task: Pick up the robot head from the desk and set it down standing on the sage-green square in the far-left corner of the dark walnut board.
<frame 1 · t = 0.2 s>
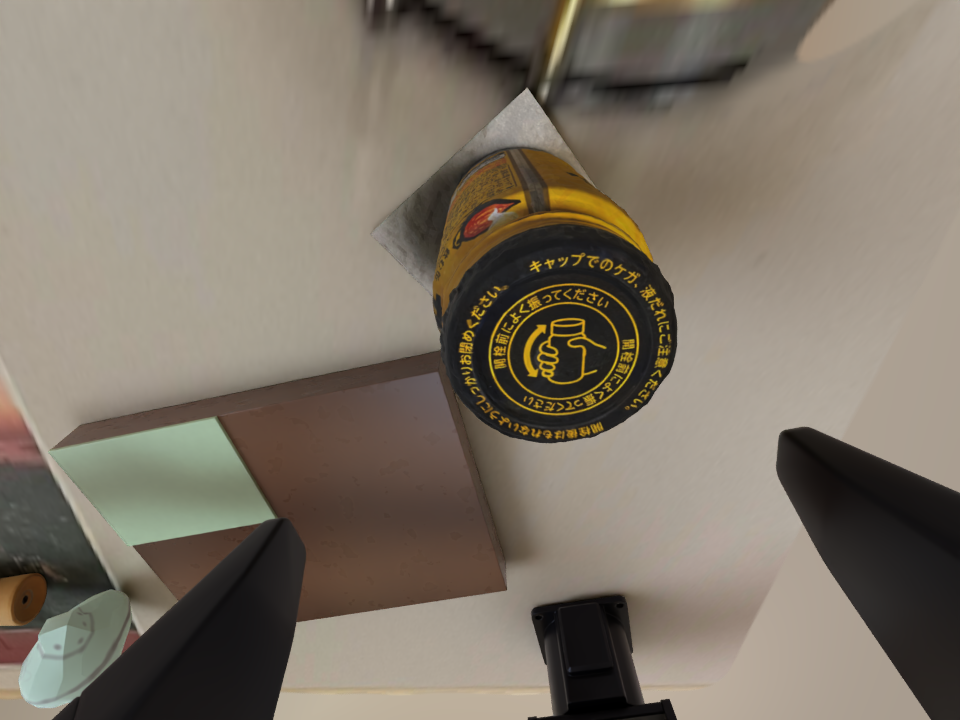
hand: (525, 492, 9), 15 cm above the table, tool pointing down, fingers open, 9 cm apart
walnut board: (313, 500, 29), on the table
condiment: (500, 231, 21), on the table
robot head: (120, 590, 33), on the table
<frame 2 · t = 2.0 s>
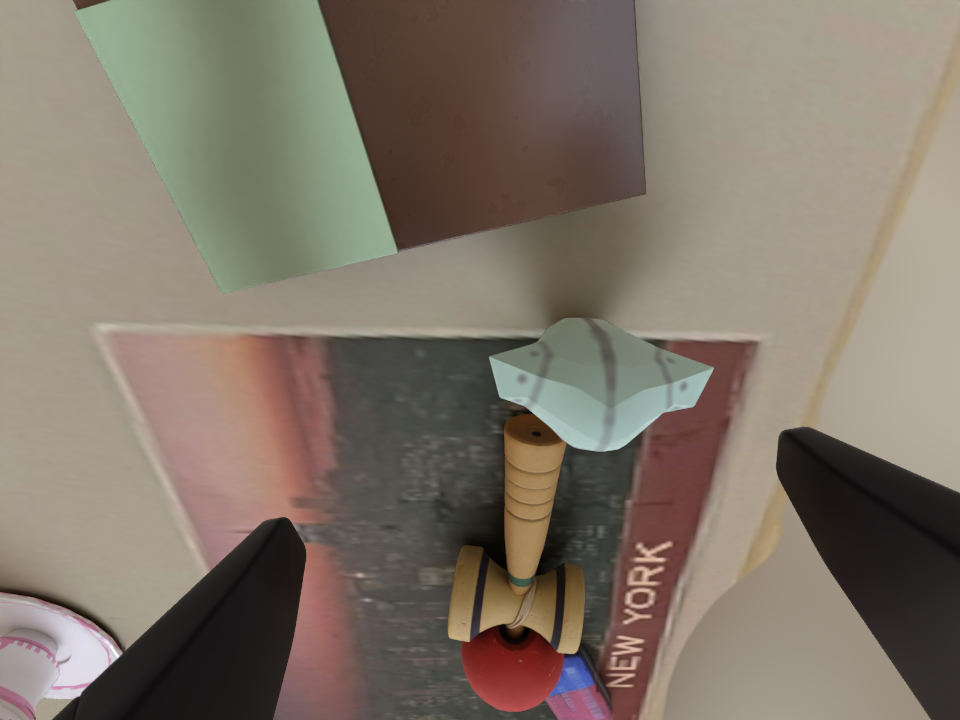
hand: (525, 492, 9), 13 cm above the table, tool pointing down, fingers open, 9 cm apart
eraser: (567, 669, 35), on the table
teacup: (37, 640, 33), on the table
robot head: (573, 334, 22), on the table
kendama: (515, 532, 28), on the table
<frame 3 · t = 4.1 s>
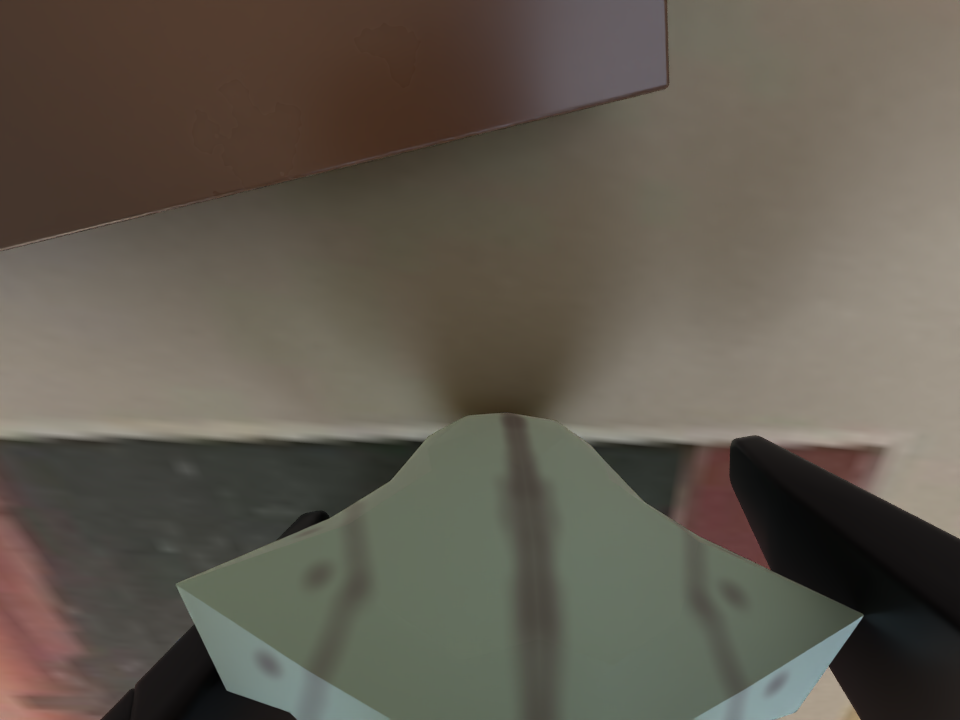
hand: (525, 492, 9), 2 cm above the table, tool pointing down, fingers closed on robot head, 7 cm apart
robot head: (501, 432, 11), on the table, touching gripper
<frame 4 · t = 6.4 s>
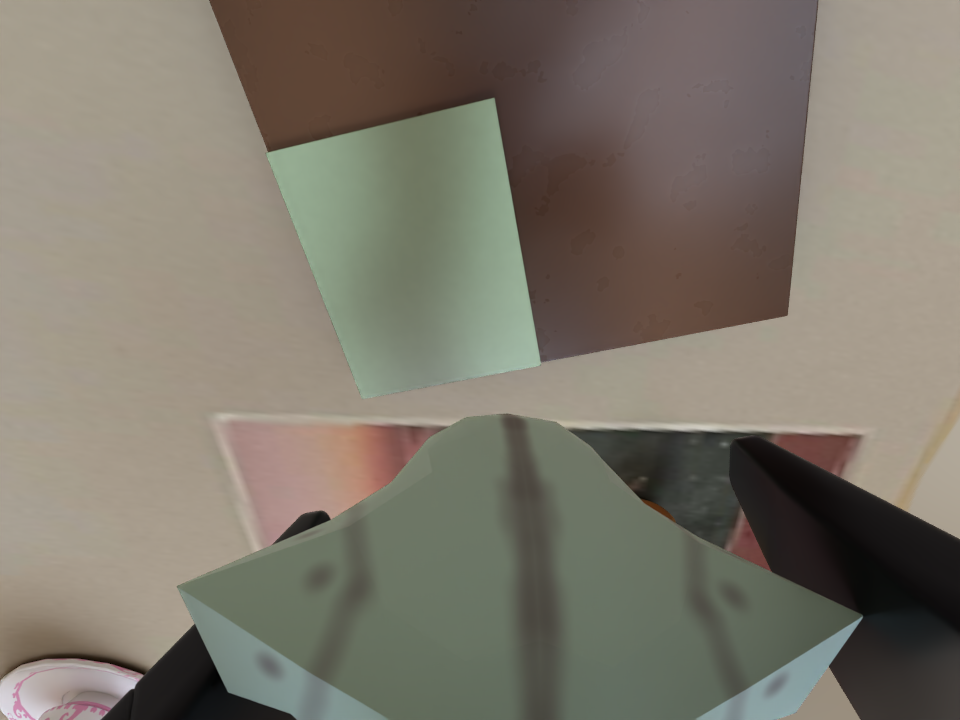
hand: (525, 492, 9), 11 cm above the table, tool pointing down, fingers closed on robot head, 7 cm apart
walnut board: (516, 54, 15), on the table
teacup: (103, 702, 33), on the table
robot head: (501, 433, 11), point 9 cm above the table, touching gripper
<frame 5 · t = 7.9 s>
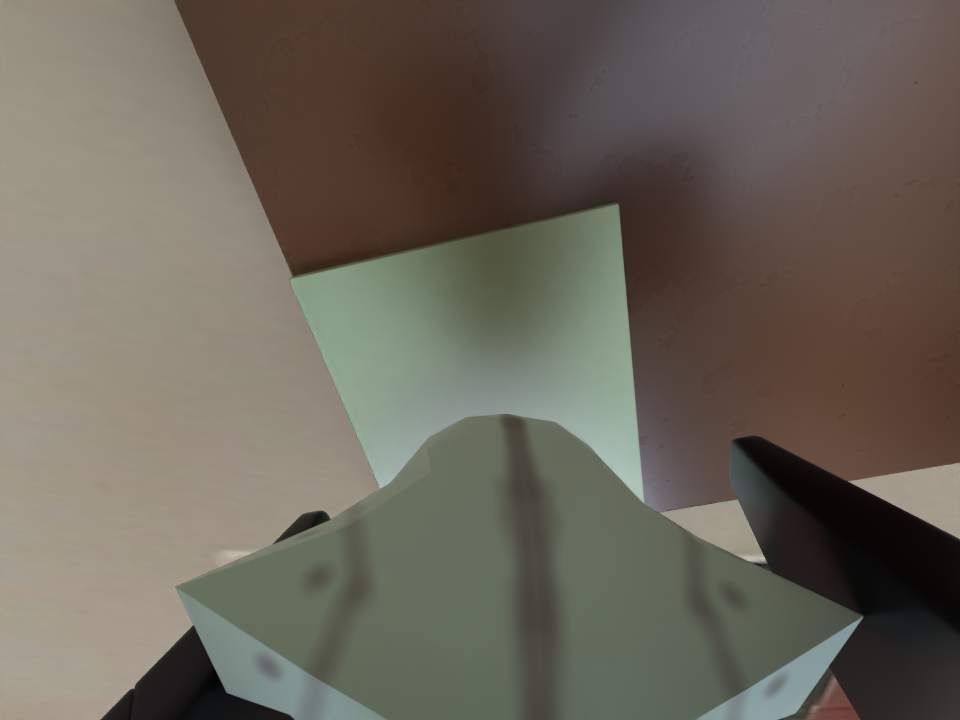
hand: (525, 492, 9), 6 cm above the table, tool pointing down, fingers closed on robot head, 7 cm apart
walnut board: (634, 129, 11), on the table
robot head: (501, 434, 11), point 4 cm above the table, touching gripper
when the fingers open (4 cm above the table, at t = 9.0 s): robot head stays where it is, resting on walnut board.
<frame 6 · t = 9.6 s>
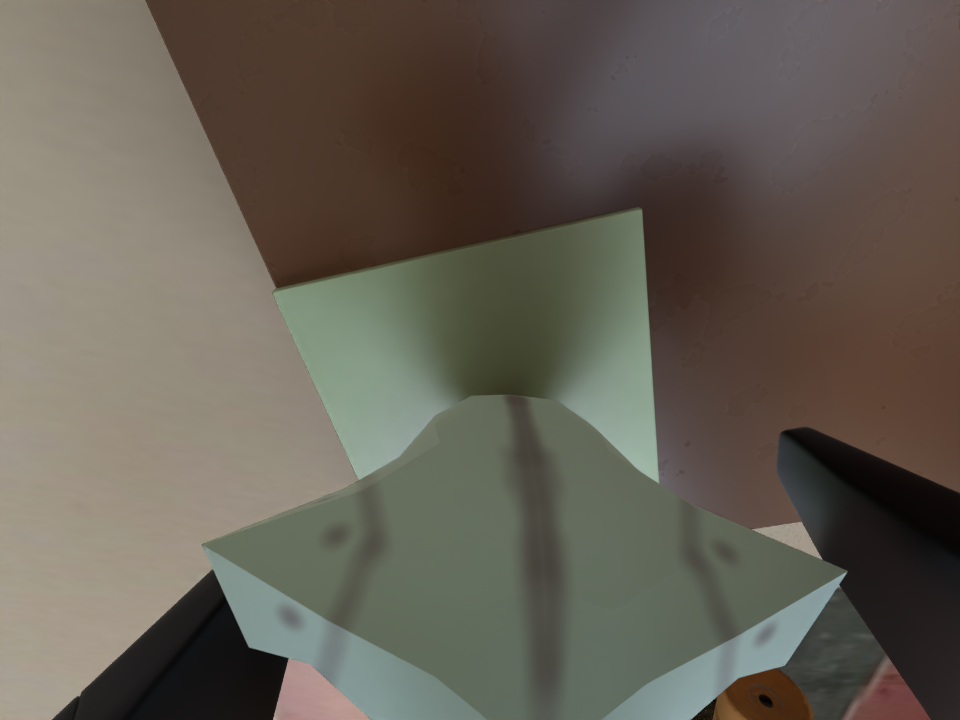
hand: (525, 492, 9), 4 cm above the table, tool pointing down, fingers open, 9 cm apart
walnut board: (656, 125, 10), on the table
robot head: (503, 415, 11), point 2 cm above the table, touching walnut board
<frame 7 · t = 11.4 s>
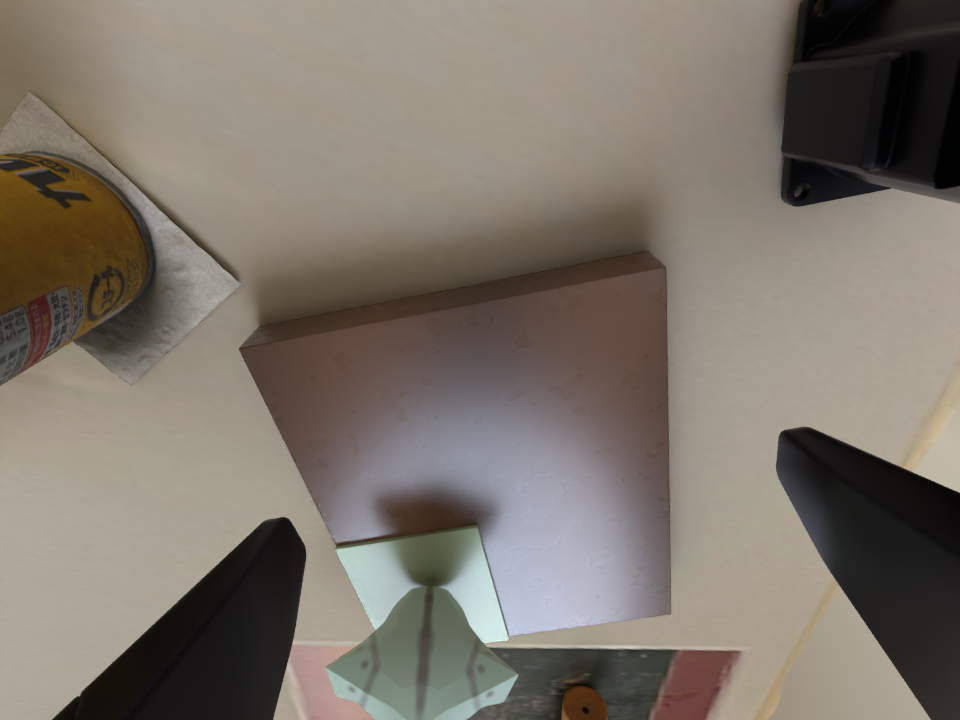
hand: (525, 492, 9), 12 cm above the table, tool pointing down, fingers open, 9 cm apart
walnut board: (492, 476, 24), on the table
condiment: (95, 255, 19), on the table
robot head: (430, 587, 25), point 2 cm above the table, touching walnut board
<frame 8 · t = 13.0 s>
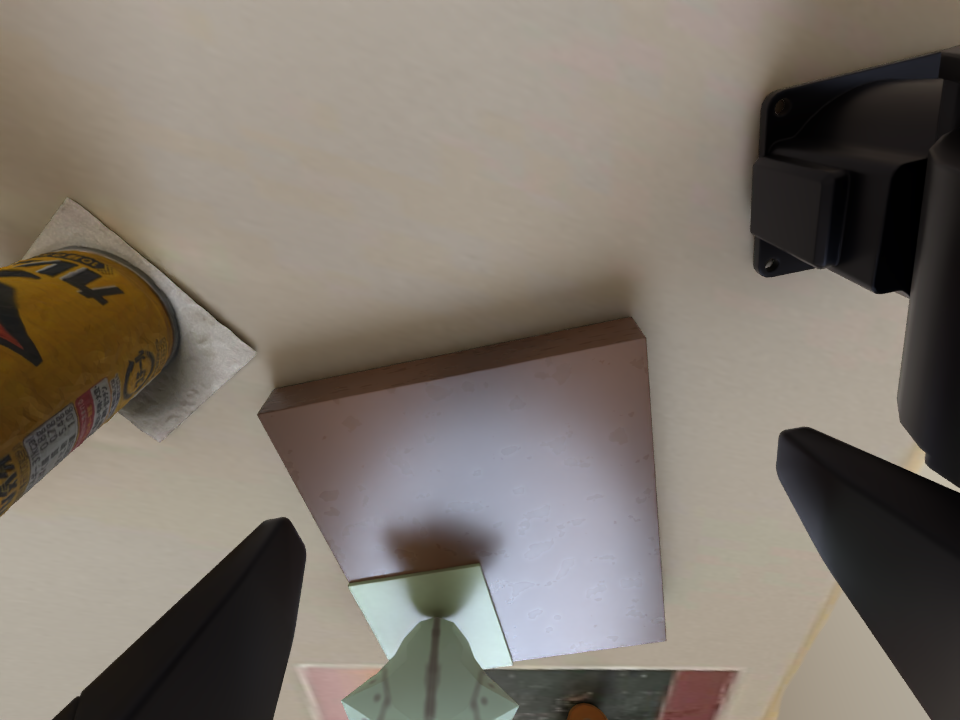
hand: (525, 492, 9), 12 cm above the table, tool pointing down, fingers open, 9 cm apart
walnut board: (493, 515, 26), on the table
condiment: (126, 330, 21), on the table
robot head: (437, 618, 27), point 2 cm above the table, touching walnut board
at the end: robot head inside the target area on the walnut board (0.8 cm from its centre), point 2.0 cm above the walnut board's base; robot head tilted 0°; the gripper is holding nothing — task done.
